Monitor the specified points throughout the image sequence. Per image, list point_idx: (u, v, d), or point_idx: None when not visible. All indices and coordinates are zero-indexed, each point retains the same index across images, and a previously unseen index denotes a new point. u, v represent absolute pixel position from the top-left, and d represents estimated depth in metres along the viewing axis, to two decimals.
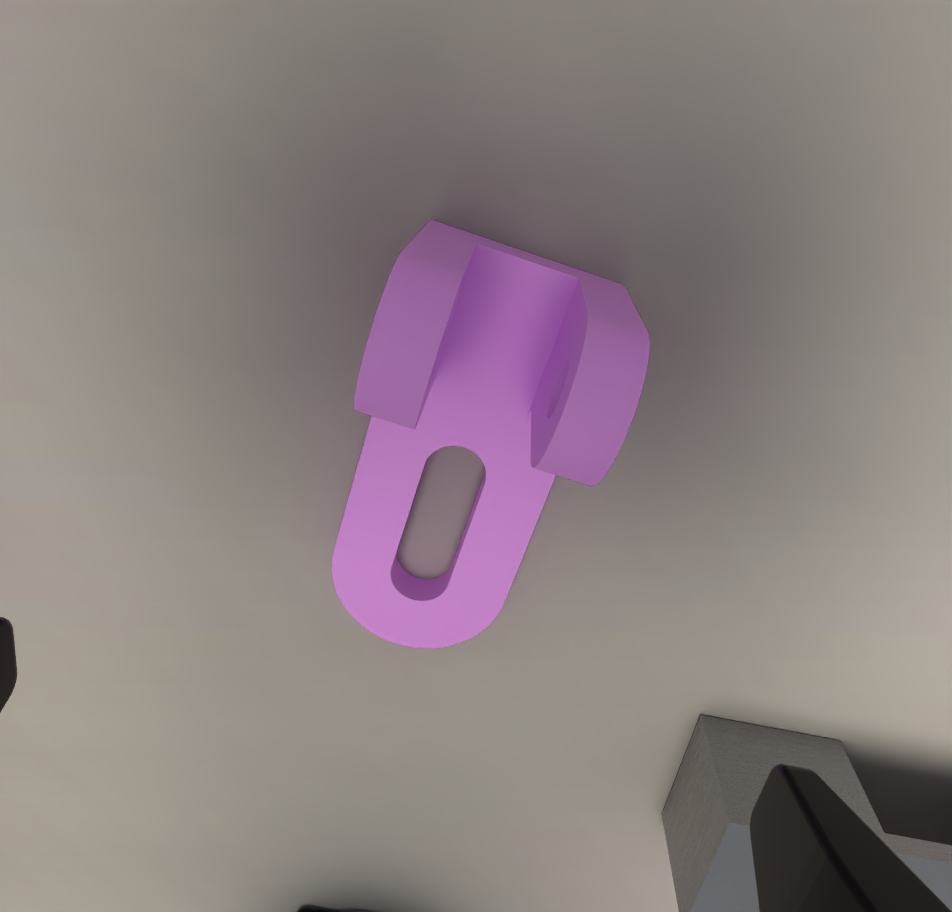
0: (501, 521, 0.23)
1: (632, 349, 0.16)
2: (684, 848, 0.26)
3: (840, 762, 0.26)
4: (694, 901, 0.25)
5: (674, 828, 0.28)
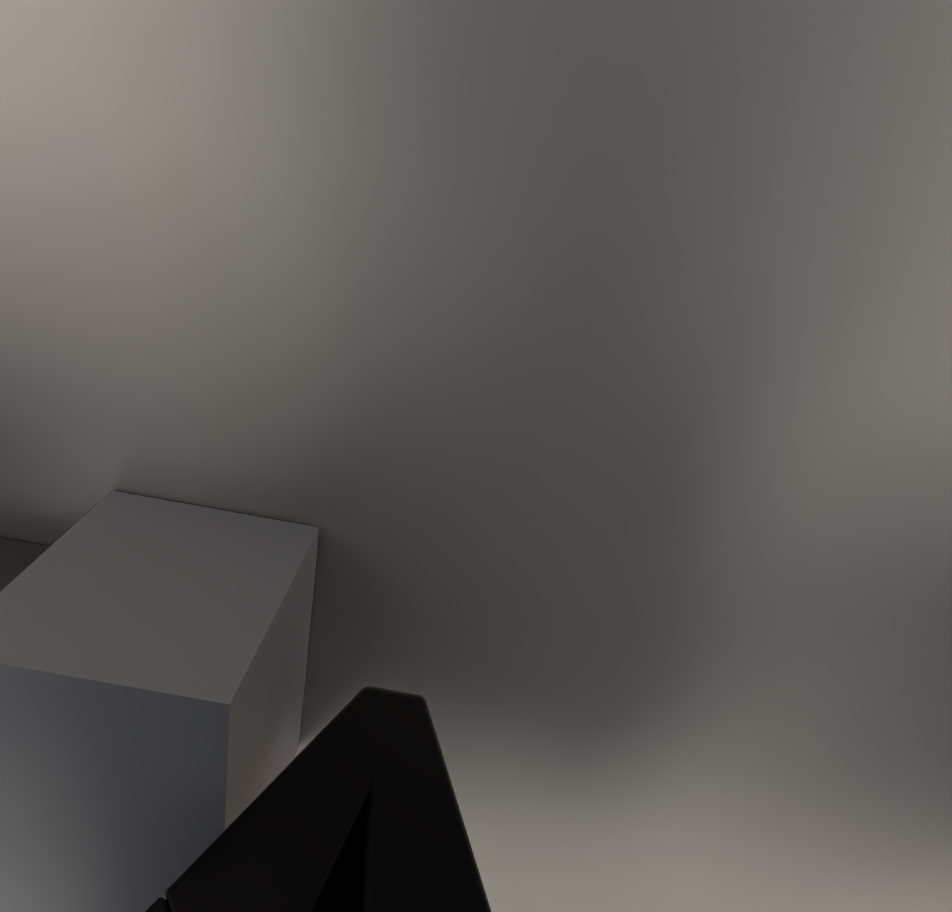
0: None
1: None
2: None
3: None
4: None
5: None
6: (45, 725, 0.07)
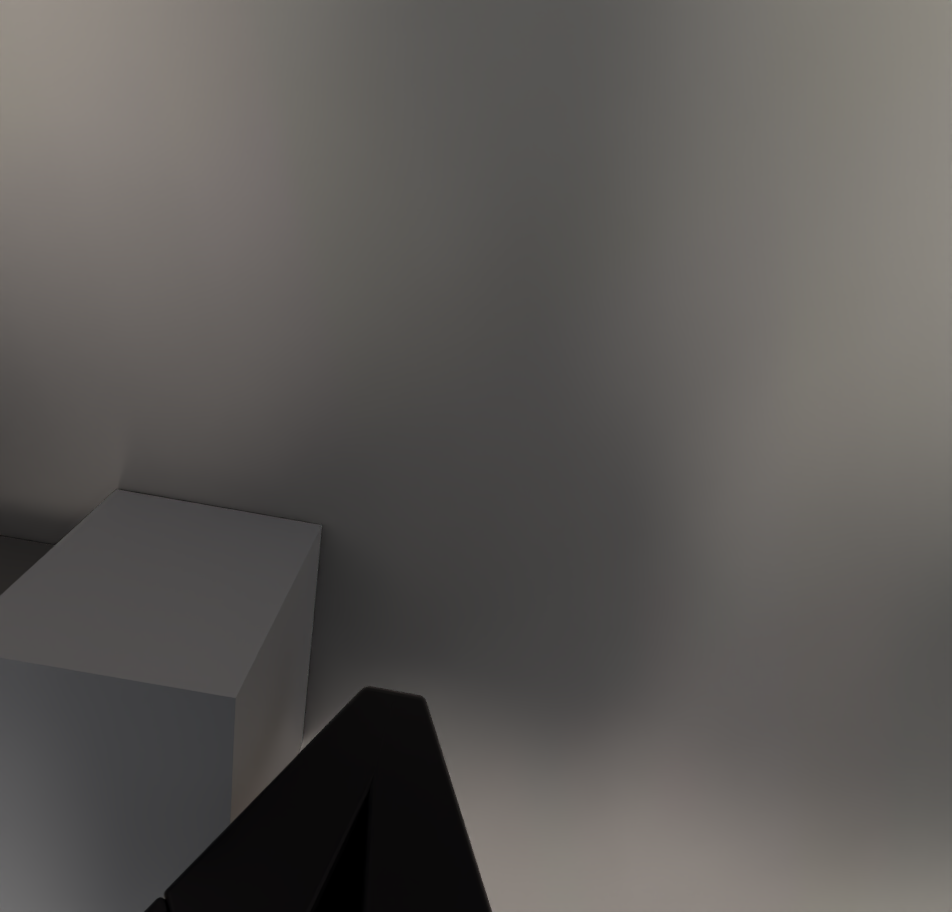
0: None
1: None
2: None
3: None
4: None
5: None
6: (53, 720, 0.07)
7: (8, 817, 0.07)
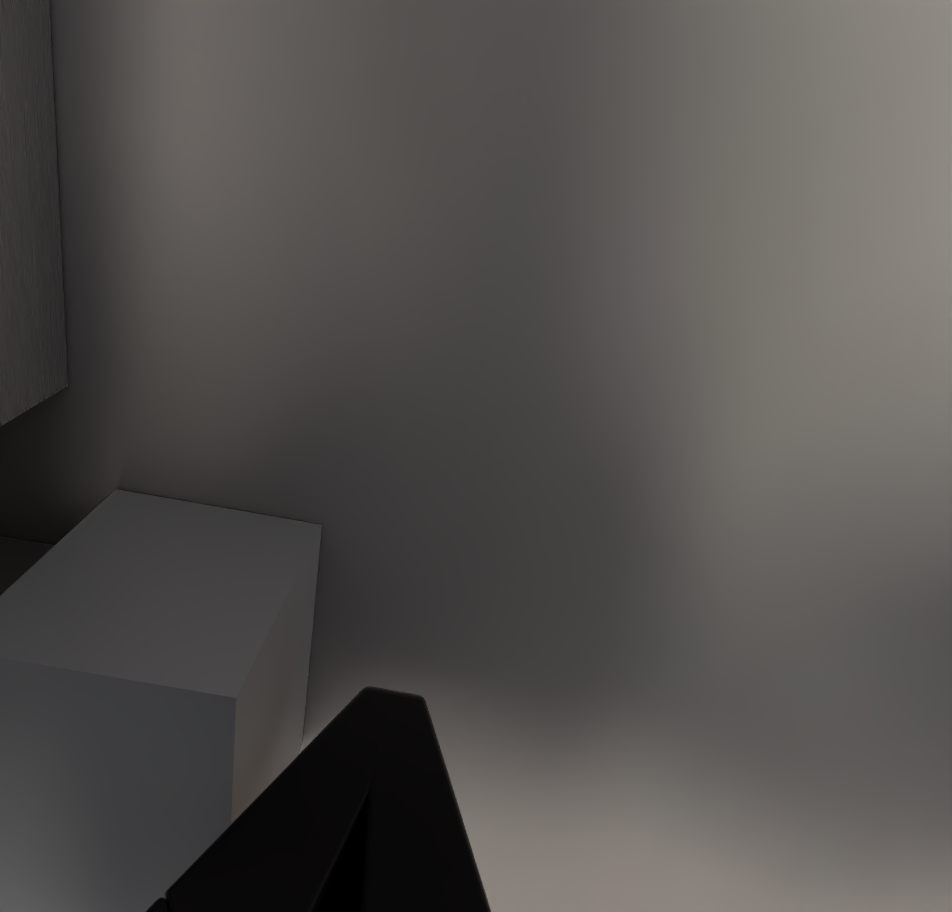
0: None
1: None
2: None
3: None
4: None
5: None
6: (53, 720, 0.07)
7: (9, 817, 0.07)
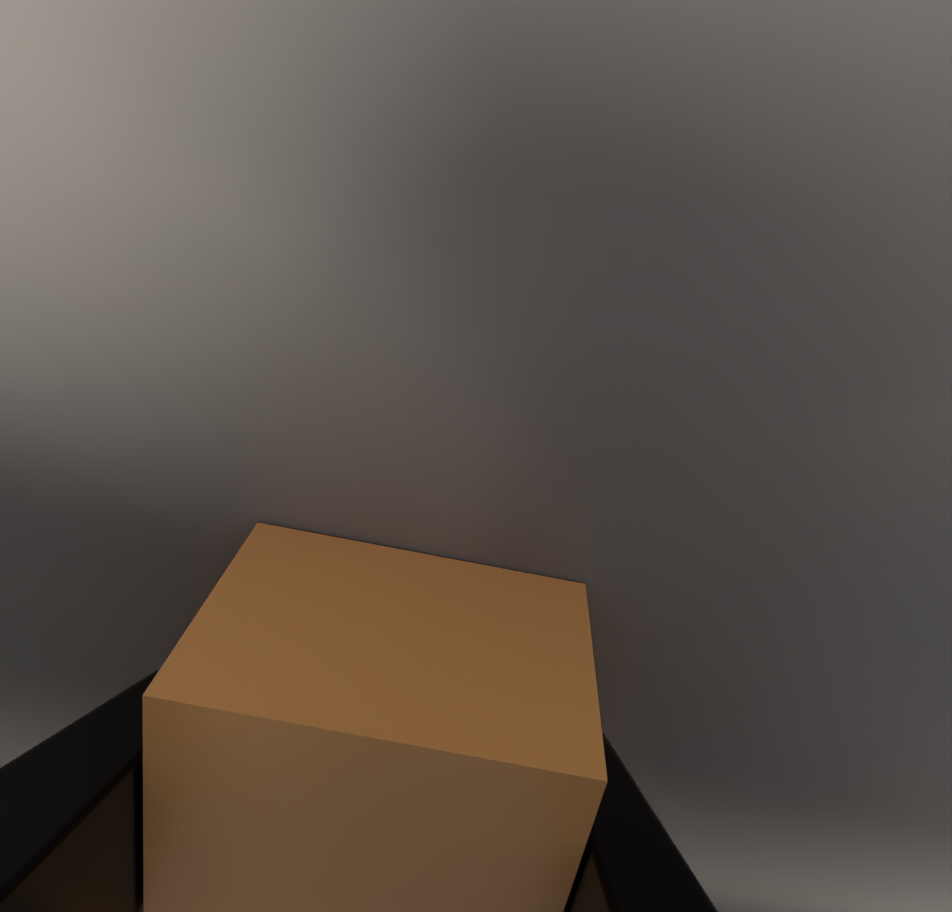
0: None
1: None
2: None
3: None
4: None
5: None
6: None
7: None
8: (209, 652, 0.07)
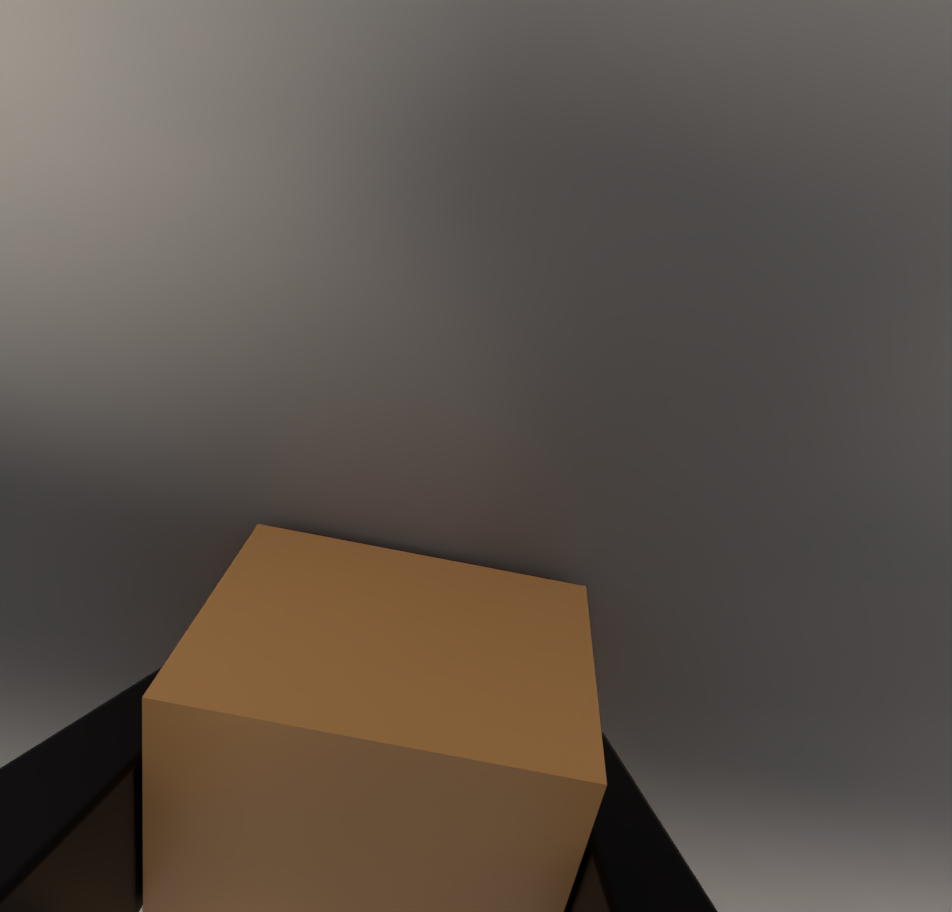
0: None
1: None
2: None
3: None
4: None
5: None
6: None
7: None
8: (209, 654, 0.07)
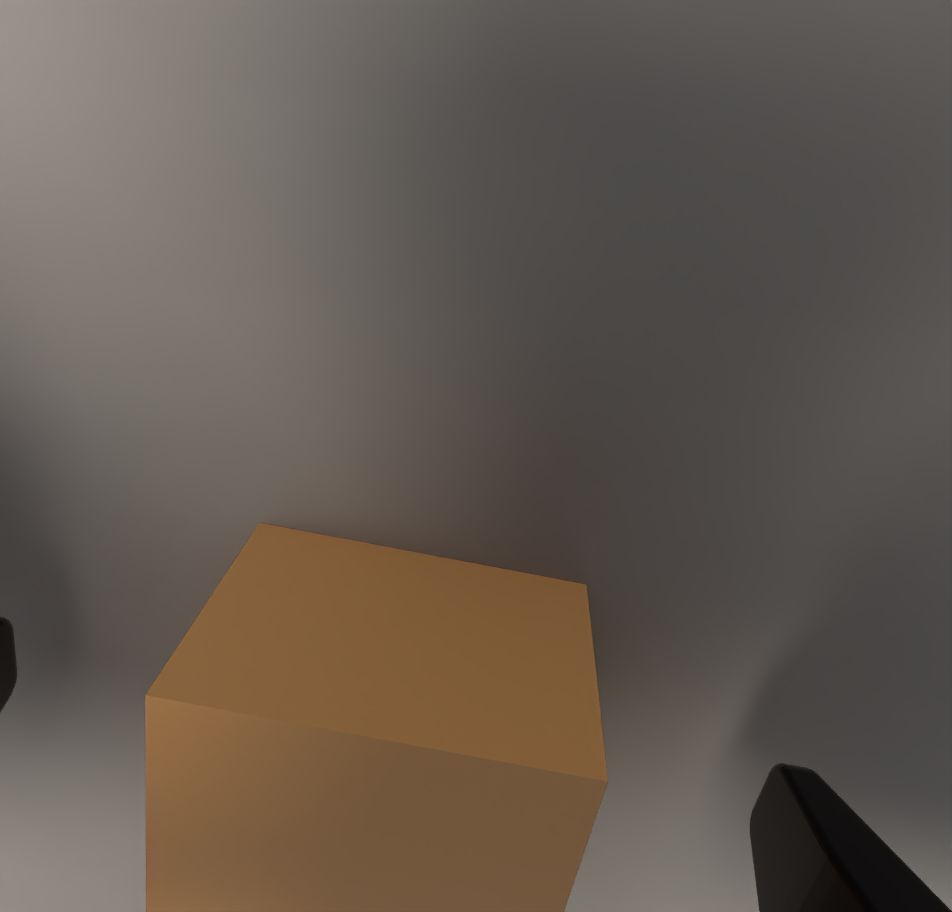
0: None
1: None
2: None
3: None
4: None
5: None
6: None
7: None
8: (211, 652, 0.07)
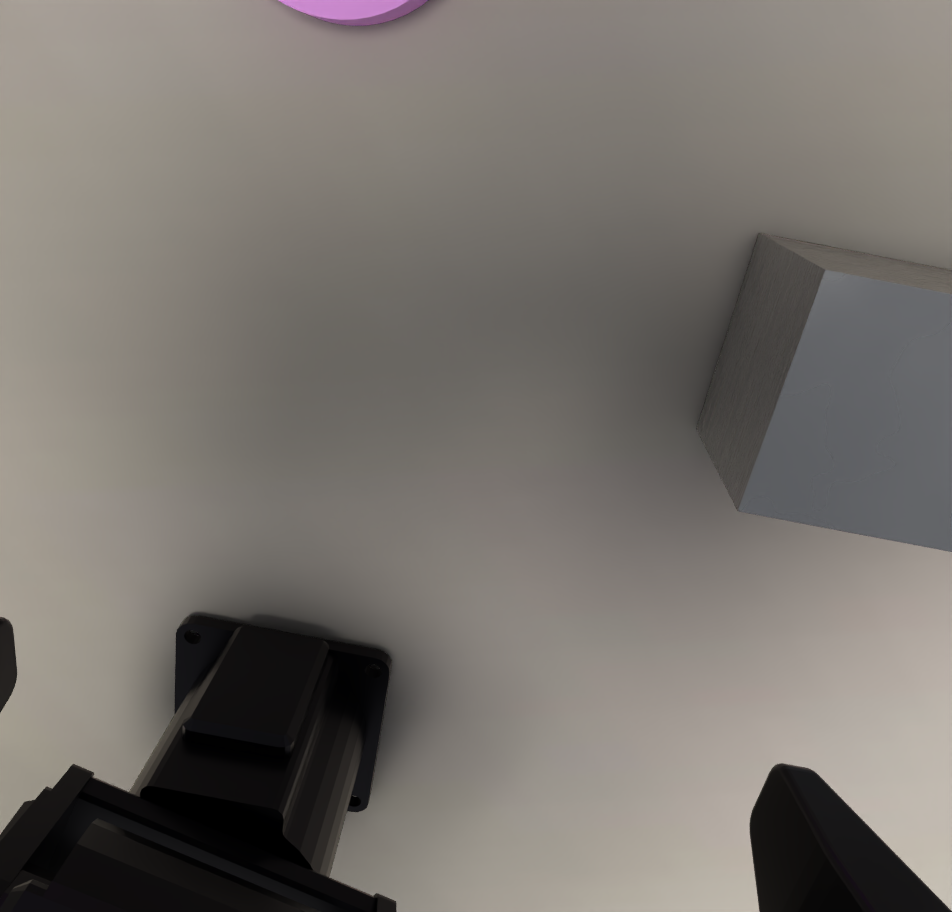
0: None
1: None
2: (737, 413, 0.17)
3: None
4: (758, 451, 0.15)
5: (717, 416, 0.18)
6: None
7: None
8: None
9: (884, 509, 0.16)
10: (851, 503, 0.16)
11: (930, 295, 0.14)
